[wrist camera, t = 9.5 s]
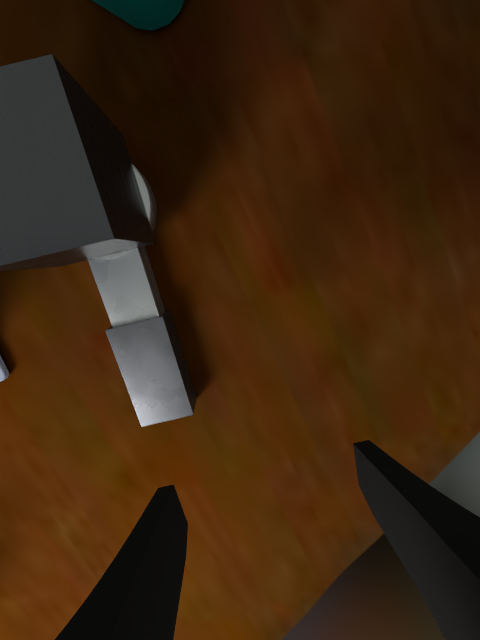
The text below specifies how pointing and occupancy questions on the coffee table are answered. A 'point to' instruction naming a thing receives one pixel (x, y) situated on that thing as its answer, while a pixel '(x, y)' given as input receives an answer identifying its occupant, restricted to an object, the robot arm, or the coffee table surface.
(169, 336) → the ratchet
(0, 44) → the coffee table surface
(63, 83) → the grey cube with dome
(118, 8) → the teal green bottle
